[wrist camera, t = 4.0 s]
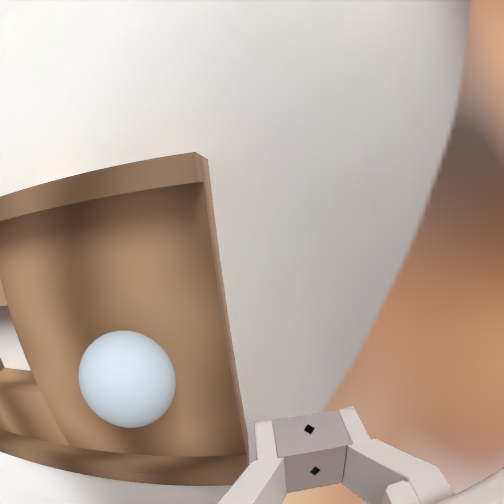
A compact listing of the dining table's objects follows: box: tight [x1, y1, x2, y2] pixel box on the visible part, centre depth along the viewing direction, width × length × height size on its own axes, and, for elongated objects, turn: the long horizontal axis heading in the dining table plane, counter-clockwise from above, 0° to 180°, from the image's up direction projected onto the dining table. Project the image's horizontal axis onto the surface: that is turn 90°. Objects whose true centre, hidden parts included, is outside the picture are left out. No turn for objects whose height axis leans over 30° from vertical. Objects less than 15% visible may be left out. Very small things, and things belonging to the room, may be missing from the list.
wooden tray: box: [0, 152, 249, 486], centre depth 14 cm, size 20×16×4 cm
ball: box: [78, 331, 176, 428], centre depth 11 cm, size 4×4×4 cm
